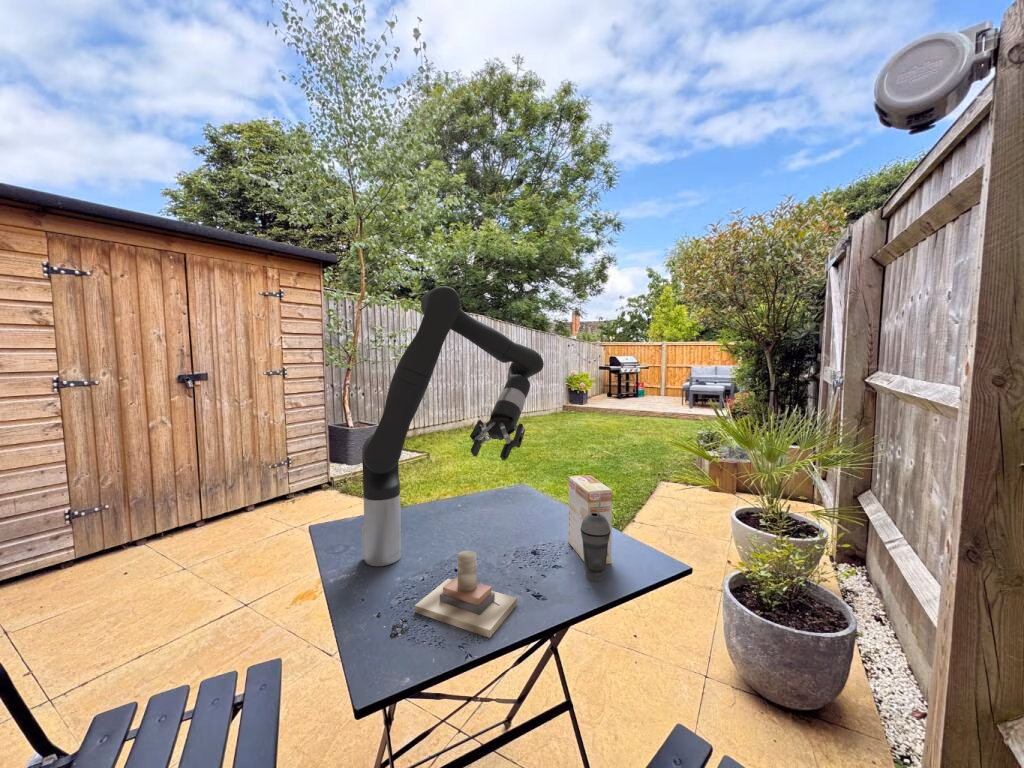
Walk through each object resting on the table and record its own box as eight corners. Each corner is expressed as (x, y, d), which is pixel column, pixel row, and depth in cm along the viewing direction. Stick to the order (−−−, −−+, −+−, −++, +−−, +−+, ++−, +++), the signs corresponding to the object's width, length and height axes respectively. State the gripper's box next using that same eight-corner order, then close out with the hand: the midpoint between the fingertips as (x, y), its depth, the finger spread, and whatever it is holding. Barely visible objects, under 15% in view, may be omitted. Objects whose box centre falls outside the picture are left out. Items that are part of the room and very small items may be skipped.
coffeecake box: (612, 563, 108) (613, 490, 107) (586, 566, 106) (587, 491, 105) (590, 539, 122) (591, 474, 121) (567, 541, 121) (567, 475, 120)
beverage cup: (588, 566, 107) (589, 489, 105) (615, 575, 102) (616, 495, 101) (574, 577, 101) (574, 496, 100) (601, 587, 96) (602, 503, 95)
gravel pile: (373, 645, 78) (373, 636, 78) (387, 615, 86) (387, 607, 86) (409, 646, 78) (408, 637, 78) (420, 616, 86) (419, 608, 86)
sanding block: (439, 601, 88) (439, 555, 88) (456, 587, 94) (456, 544, 93) (479, 615, 84) (479, 566, 83) (494, 599, 89) (494, 554, 88)
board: (414, 612, 87) (414, 605, 87) (448, 584, 98) (448, 578, 98) (489, 637, 79) (489, 630, 79) (517, 604, 90) (517, 597, 90)
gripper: (481, 397, 116) (458, 445, 107) (527, 400, 110) (507, 451, 100) (491, 414, 121) (469, 461, 112) (535, 417, 115) (517, 468, 105)
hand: (487, 456), depth 106 cm, fingers open, 8 cm apart
